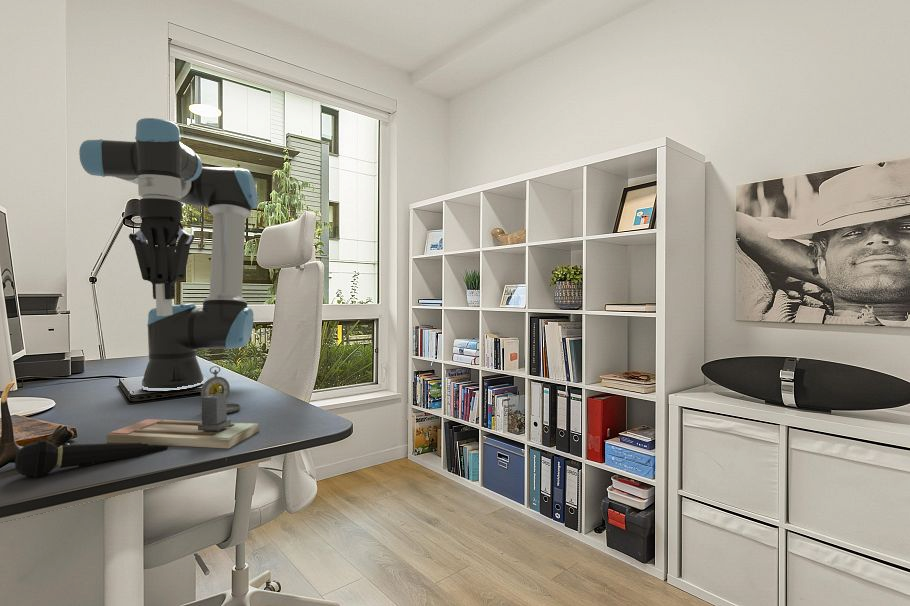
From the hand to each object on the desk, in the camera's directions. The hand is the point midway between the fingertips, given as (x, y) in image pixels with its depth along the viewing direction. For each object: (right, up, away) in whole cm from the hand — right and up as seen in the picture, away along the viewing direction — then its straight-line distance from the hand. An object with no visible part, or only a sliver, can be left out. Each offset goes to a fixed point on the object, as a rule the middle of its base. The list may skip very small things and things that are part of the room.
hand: (164, 315), depth 100 cm
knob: (+14, -21, -8) cm, 27 cm away
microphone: (+2, -24, -22) cm, 32 cm away
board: (+9, -23, -7) cm, 26 cm away
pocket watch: (+6, -22, +12) cm, 26 cm away
